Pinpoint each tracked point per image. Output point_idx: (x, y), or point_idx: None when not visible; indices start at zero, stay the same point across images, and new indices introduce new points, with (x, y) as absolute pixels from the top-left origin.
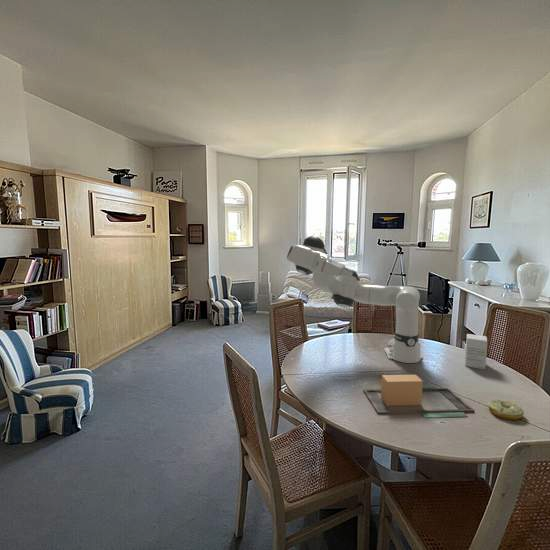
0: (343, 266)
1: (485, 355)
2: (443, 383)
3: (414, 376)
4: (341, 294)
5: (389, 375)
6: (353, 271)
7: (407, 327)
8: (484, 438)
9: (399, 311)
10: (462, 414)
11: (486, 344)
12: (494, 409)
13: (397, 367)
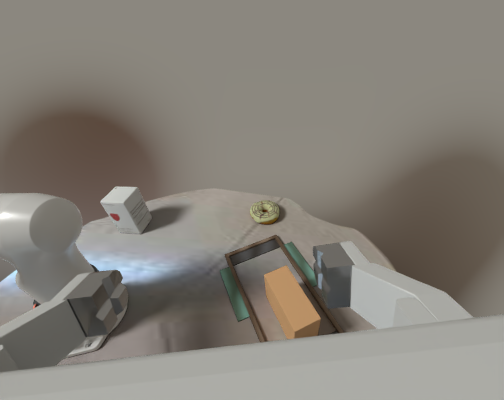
0: (133, 357)
1: (145, 204)
2: (205, 260)
3: (273, 276)
4: None
5: (288, 316)
6: (115, 270)
7: (81, 270)
8: (328, 233)
9: (48, 262)
10: (290, 245)
11: (139, 191)
12: (274, 217)
13: (147, 327)
